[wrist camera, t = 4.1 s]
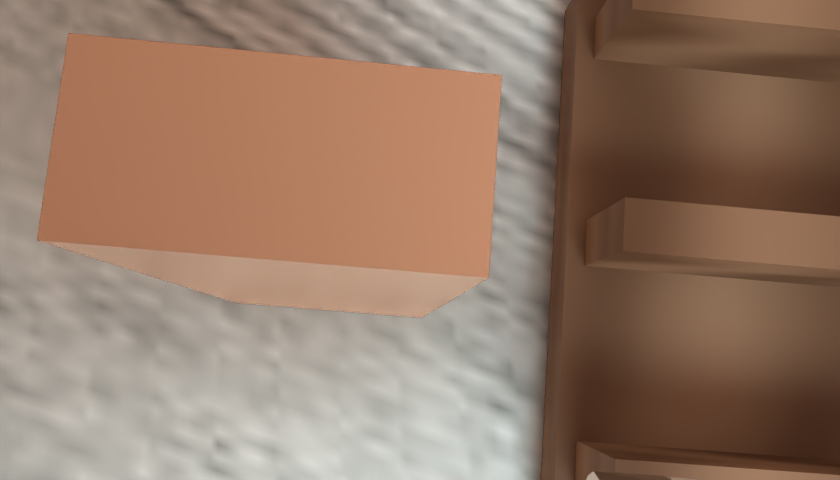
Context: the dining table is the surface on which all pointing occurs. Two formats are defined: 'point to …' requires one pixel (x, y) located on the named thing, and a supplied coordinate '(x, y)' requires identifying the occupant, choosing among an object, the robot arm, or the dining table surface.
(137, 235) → the clay slab
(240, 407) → the dining table surface
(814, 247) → the rack
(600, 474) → the robot arm
